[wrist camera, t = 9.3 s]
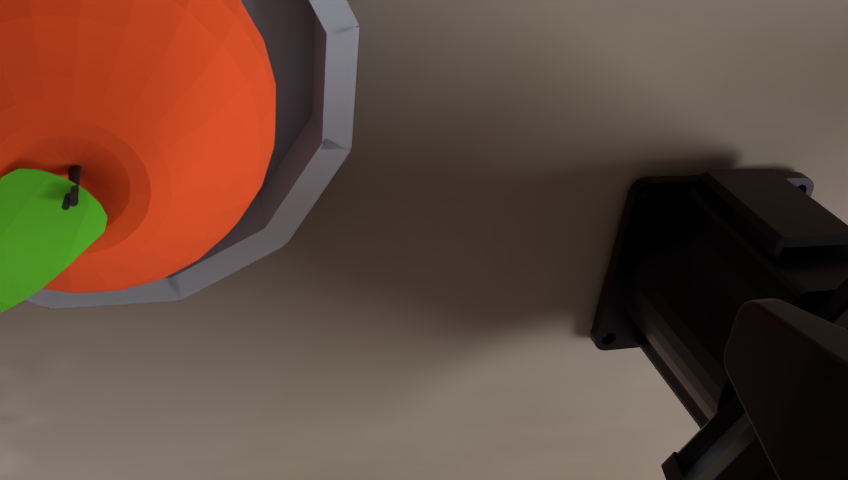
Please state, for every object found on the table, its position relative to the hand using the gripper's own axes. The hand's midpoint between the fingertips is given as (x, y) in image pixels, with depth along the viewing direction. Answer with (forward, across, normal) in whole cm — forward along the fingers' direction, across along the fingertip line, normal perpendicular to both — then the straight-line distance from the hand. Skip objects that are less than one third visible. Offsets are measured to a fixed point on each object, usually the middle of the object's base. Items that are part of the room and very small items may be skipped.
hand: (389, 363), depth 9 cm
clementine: (+12, +4, +1) cm, 13 cm away
